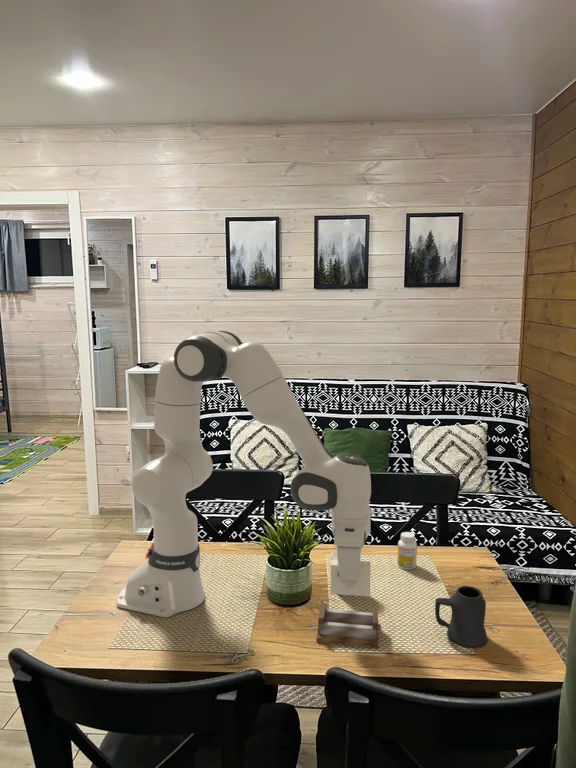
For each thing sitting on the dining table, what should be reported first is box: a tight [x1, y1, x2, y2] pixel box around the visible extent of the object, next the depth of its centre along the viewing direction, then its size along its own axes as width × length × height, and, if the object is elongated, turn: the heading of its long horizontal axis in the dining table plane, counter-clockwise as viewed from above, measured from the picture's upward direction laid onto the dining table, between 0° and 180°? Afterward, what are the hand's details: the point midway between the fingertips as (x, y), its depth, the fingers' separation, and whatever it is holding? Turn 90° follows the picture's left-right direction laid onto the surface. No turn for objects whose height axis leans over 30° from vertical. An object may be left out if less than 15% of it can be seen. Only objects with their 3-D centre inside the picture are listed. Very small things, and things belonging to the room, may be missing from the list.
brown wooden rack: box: [316, 602, 380, 648], centre depth 136 cm, size 14×10×5 cm
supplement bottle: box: [397, 531, 418, 571], centre depth 169 cm, size 5×5×10 cm
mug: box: [434, 585, 488, 649], centre depth 134 cm, size 12×9×11 cm
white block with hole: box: [330, 559, 372, 597], centre depth 134 cm, size 9×4×7 cm, turn 81°
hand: (350, 581), depth 134 cm, fingers closed on white block with hole, 3 cm apart
